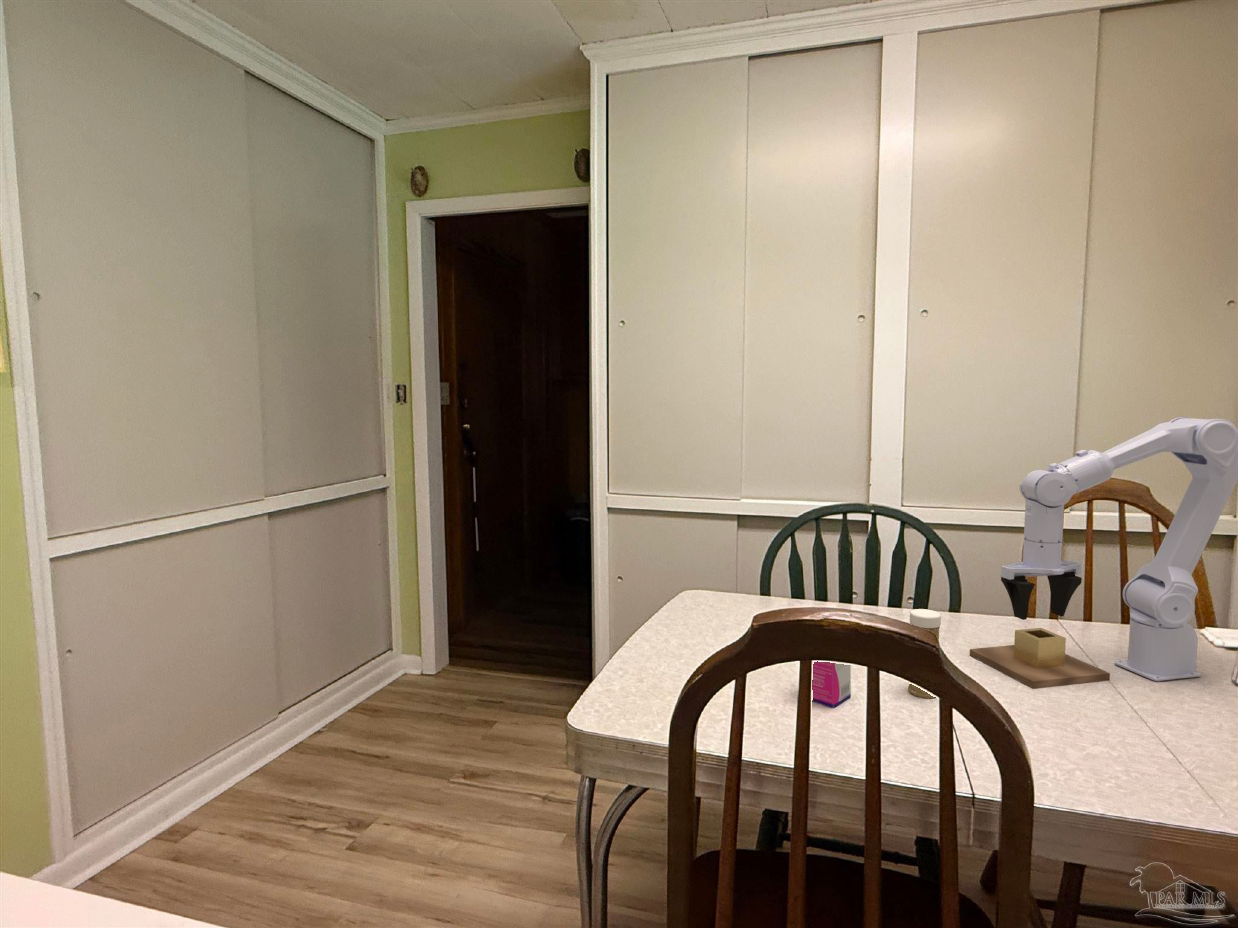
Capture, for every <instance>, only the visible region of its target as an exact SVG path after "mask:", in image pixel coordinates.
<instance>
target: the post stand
mask: <svg viewBox="0 0 1238 928" xmlns="http://www.w3.org/2000/svg"><path fill="white" fill-rule="evenodd" d="M1038 638H1039V637H1038ZM969 656H970V657H972V658H974V659H975V660H977V659H978V661H979V662H982V663H984V664H986V665H987V666H989V667H990V668H993V669H994V670H997V671H999V672H1001V674H1005V675H1006V676H1008V677H1011V678H1012V679H1014V680H1016V681H1017V682H1020V683H1021V684H1023V685H1026V686H1027V687H1029V688H1031V689H1038V688H1040V689H1041V688H1049V687H1057V686H1058V687H1059V686H1067V685H1069V686H1070V685H1077V684H1085V683H1086V684H1087V683H1094V682H1095V683H1096V682H1103V681H1104V682H1105V681H1110V680H1111V673H1110V672H1109V671H1106V670H1105V669H1101V668H1099V667H1097V666H1095V665H1093V664H1090V663H1088V662H1085V661H1083V660H1080V659H1078V658H1076V657H1074V656H1072V655H1069V654H1066V653H1065V662H1064V666H1060V667H1050V668H1040V669H1037V668H1035V667H1033V666H1031V665H1029V664H1026V663H1024V662H1022V661H1020V660H1018V659H1016V658H1014V644H1011V645H1010V644H1009V645H998V646H989V647H978V648H976V647H975V648H970V649H969Z"/></svg>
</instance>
